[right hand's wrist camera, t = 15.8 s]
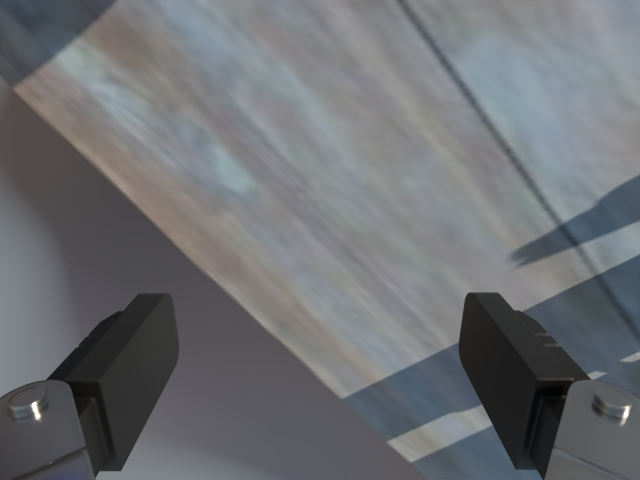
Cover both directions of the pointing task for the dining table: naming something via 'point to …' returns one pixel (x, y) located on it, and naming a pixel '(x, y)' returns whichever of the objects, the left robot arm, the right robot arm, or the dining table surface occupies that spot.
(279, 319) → the dining table surface
